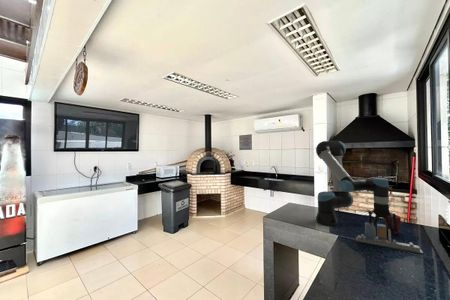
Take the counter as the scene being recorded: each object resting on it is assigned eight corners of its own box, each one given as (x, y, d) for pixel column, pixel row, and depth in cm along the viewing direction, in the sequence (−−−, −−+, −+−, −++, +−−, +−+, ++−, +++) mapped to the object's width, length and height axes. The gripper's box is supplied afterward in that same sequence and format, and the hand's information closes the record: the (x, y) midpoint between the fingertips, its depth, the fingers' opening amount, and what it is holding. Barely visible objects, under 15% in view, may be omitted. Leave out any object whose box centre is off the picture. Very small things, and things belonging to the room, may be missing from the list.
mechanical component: (396, 229, 135) (406, 236, 125) (380, 228, 137) (389, 235, 127) (395, 212, 134) (406, 217, 125) (379, 211, 136) (388, 216, 127)
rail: (356, 241, 119) (355, 223, 119) (355, 238, 124) (355, 220, 124) (423, 254, 104) (422, 232, 104) (420, 249, 108) (419, 229, 108)
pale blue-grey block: (377, 237, 124) (377, 223, 124) (385, 238, 122) (385, 224, 122) (378, 240, 120) (378, 226, 120) (386, 242, 118) (386, 227, 118)
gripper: (362, 202, 123) (363, 238, 123) (403, 206, 113) (404, 245, 113) (361, 199, 129) (362, 233, 129) (400, 203, 119) (401, 240, 119)
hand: (382, 239), depth 121 cm, fingers open, 7 cm apart
